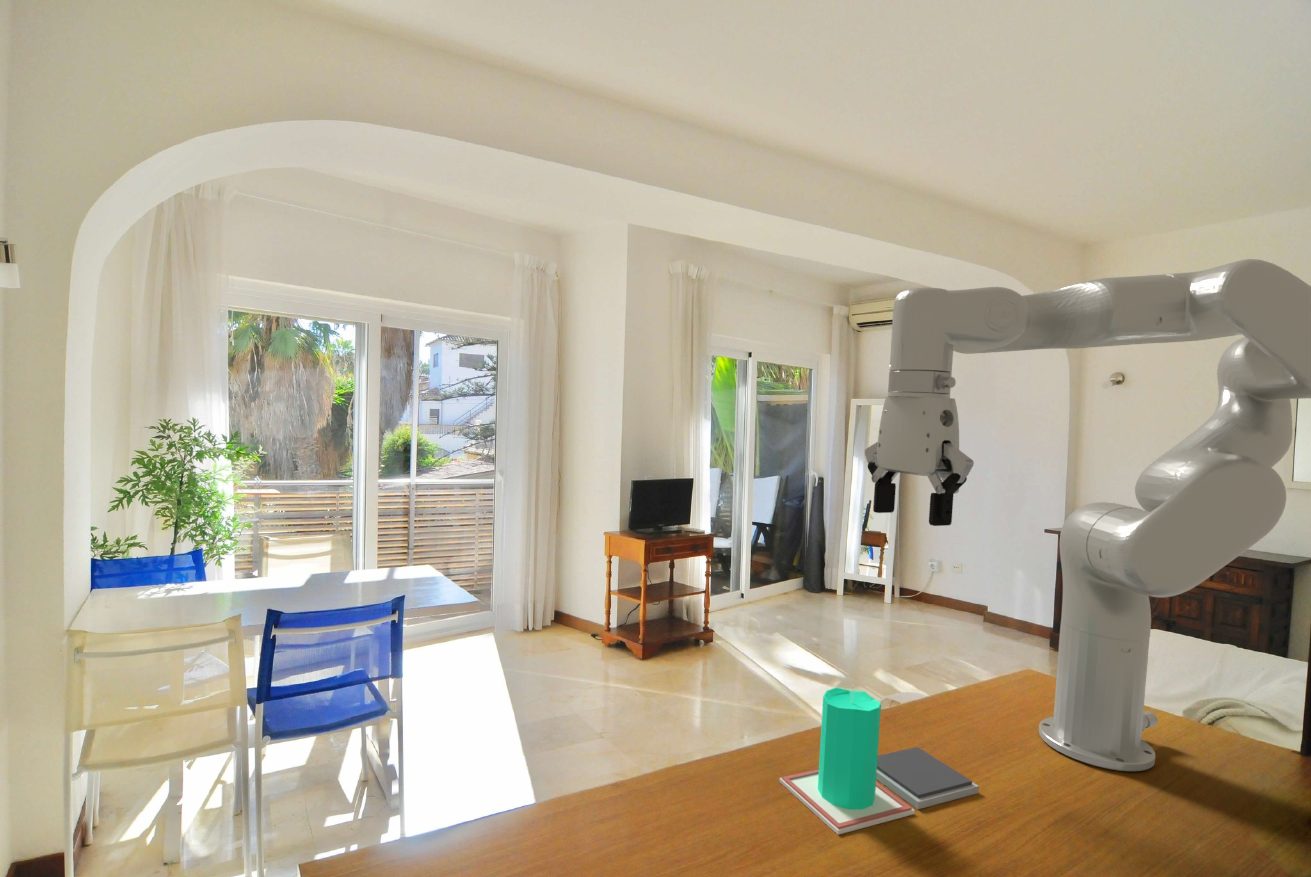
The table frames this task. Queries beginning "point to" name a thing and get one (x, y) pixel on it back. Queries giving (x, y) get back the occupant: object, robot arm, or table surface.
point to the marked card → (842, 818)
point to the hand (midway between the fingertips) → (910, 518)
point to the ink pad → (922, 778)
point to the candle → (849, 748)
